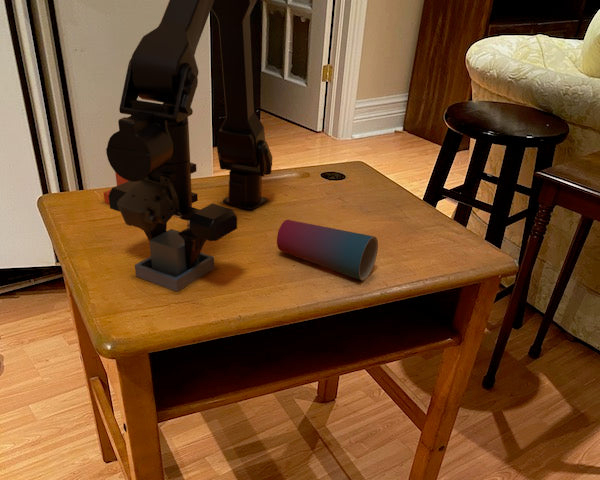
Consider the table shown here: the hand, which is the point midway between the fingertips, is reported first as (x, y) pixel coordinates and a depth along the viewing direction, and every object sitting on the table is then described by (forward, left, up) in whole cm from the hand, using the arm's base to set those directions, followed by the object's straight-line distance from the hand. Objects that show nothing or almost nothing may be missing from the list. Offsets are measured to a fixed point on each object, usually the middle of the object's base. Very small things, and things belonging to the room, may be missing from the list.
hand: (175, 264), depth 88 cm
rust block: (-18, -23, -1) cm, 29 cm away
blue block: (0, 0, -1) cm, 1 cm away
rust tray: (-18, -23, -1) cm, 29 cm away
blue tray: (0, 0, -1) cm, 1 cm away
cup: (-16, +9, +2) cm, 19 cm away
